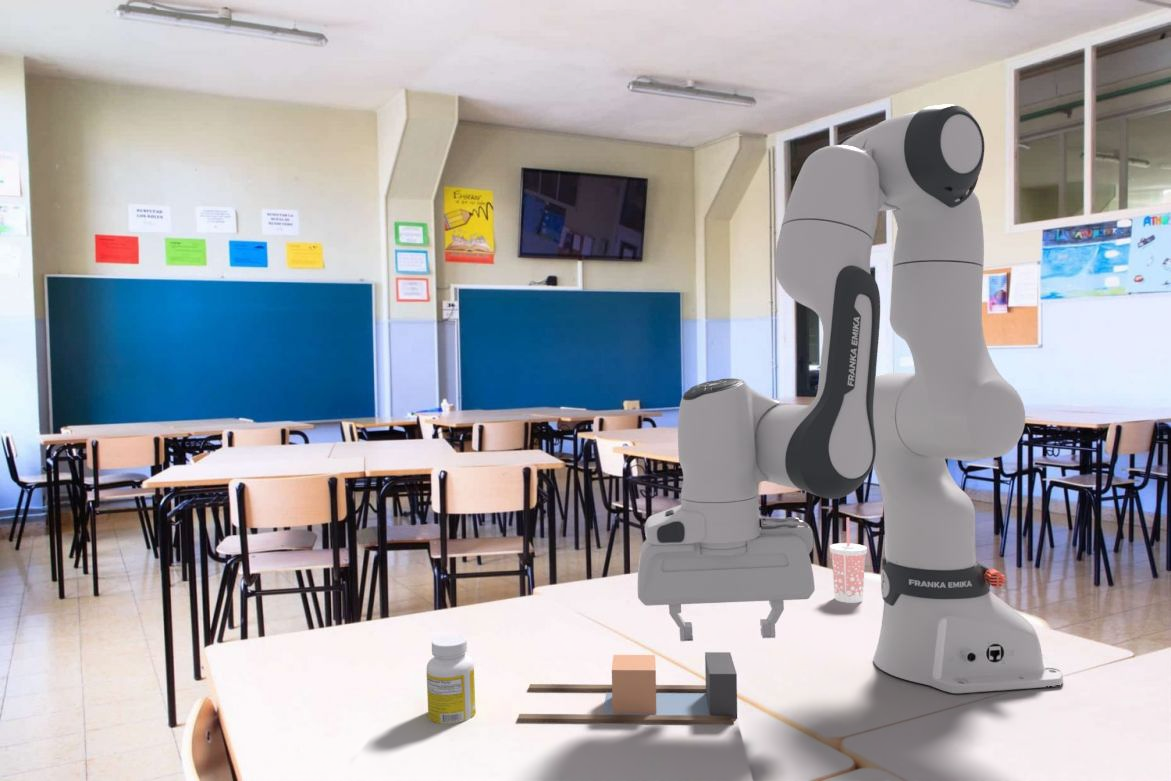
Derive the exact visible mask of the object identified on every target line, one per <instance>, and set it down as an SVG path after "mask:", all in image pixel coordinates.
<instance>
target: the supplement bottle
mask: <svg viewBox="0 0 1171 781" xmlns="http://www.w3.org/2000/svg"><path fill="white" fill-rule="evenodd" d="M467 640H468V639H467V638H466V637H465V636H463V635H460V634H448V635H442V636H438V637H436V638H434V639H432V640H431V654H432V656H433V657H432V658H431V659H430V660H428V662H427V664H426V689H427V690H426V691H427V715H428V717H427V718H428V719H429V720H430V722H433V723H434V724H435V723H436V724H440V725H455V724H459V723H464V722H467V721H468V720H471V719H473V717H475V715H476V690H475V689H476V688H475V687H476V686H475V684H476V683H475V666H474V665H475V664H474V660H473V659H472V657H471V656H469V654H466V653H467V652H468V650H467V649H468V642H467Z"/></svg>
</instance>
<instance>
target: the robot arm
mask: <svg viewBox="0 0 1171 781" xmlns="http://www.w3.org/2000/svg"><path fill="white" fill-rule="evenodd" d="M984 156H985V139H984V134H983V131H982V128H981V127H980V124H979V122H978V121H977V120H976V118H975V117H974V116H973V115H972V113H970V111H968V110H967V109H965V108H964V107H962V106H961V105H960V106H959V105H956V104H955V105H954V104H940V105H939V104H938V105H932V106H927V107H923V108H922V109H920V110H918V111H915V112H908V113H904V114H902V115H897V116H894V117H891V118H887V119H885V120H883V121H880V122H879V123H877V124H876V125H874V126H871V127H869V128H866V129H864V130H862V131H860V132H858V133H857V134H853V135H848V136H845V138H842V139H840V141H838V142H835V144H834V145H833V144H832V145H827V146H824V147H821V148H818V149H817V150H814V152H812V153H811V154H810V155H809V156H808V157H807V158H806V159H805V161H804V162H803V164H802V166H801V168H800V171H799V173H798V176H797V177H796V180H795V182H794V185H793V187H792V190H791V193H790V196H789V199H788V201H787V202H788V203H787V204H786V208H785V211H784V212H785V213H784V215H783V219H782V223H781V226H780V231H779V235H778V240H777V244H776V248H775V249H776V250H775V257H774V270H775V271H774V272H775V276H776V277H775V278H776V280H777V281H778V283H779V285H780V287H781V288H782V289H783V290H784V292H785V293H786V294H787V295H788V296H789V297H790V298H791V299H793V300H794V301H796V302H797V303H798V304H800V305H802V306H804V307H807V309H808V308H809V309H810V310H812V311H813V312H815V313H816V315H817V316H818V318H819V319H820V322H821V325H822V332H823V334H822V347H821V357H820V363H819V364H820V367H819V375H818V385H817V392H816V396H815V398H814V399H813V400H812V401H811V403H810V404H809V405H807V404H805V405H804V404H794V403H786V402H781V401H780V400H776V399H774V398H770V397H768V396H765V395H764V394H762V393H759V392H758V391H757V390H755V389H753V388H751V387H750V386H749V385H748V384H747V383H746V381H745V380H743V379H741V378H740V379H739V378H730V377H729V378H720V379H717V380H710V381H709V380H708V381H706V382H702V383H698V384H696V385H693V386H692V387H691V388H689V389H688V390H687V391H685V392H684V394H683V395H682V397H681V400H680V403H679V410H678V419H677V420H678V421H677V448H678V461H679V464H680V465H679V466H680V467H681V471H682V475H683V476H682V478H683V479H682V485H681V486H682V487H681V490H680V491H681V492H680V498H681V500H680V501H681V504H679V505H677V506H674V507H672V508H669V509H666V510H663V511H660V512H658V513H655V514H651V515H650V516H649V517H648V518H647V519H646V521H645V524H644V533H645V537H646V538H645V540H644V541H643V544H642V545H641V547H640V553H639V558H638V559H639V560H638V567H637V568H638V570H637V598H638V600H639V602H641V603H642V604H643V605H644V606H668V610H669V611H668V612H669V615H670V618H672V620H673V621H674V622H675V625H677V627H678V628H679V640H680V642H690V641H691V642H693V641H694V635H693V625H692V624H693V623H692V621H685V620H684V619H683V618H682V616H681V614H682V605H696V604H698V605H699V604H700V605H701V604H721V603H744V602H745V603H748V602H768V603H769V606H770V608H771V609H770V612H769V614H768V615H767V618H762V619H761V618H760V619H759V621H760V623H759V625H760V636H761V638H762V639H775V638H776V624H777V622H778V621H779V619H780V618H781V615H782V614H783V611H784V610H785V606H784V603H785V602H784V601H792V600H793V601H794V600H795V601H796V600H808V599H809V598H811V596H812V595H813V593H814V592H815V591H816V590H815V579H814V578H815V577H814V572H813V565H812V561H811V558H810V553H811V552H812V550H813V548H814V532H813V529H812V527H811V525H810V524H809V523H807V522H806V521H803V520H800V519H799V517H794V516H791V517H790V516H789V517H786V518H785V517H784V518H775V517H768V518H765V517H763V518H760V503H759V490H758V489H759V488H758V486H759V484H760V483H762V482H768V483H773V484H776V485H778V486H783V487H788V488H792V489H798V490H801V491H804V492H806V493H809V494H811V495H815V496H817V497H820V498H823V499H827V500H837V499H841V498H844V497H846V496H849V495H851V494H852V493H854V492H855V491H856V490H857V489H858V488H860V487H861V486H862V484H863V483H864V482H865V481H866V479H867V478H868V476H869V475H870V473H871V471H872V469H873V470H874V473H875V475H876V478H877V481H878V485H879V489H880V492H881V493H880V494H881V497H882V498H881V499H882V504H883V518H884V519H883V521H884V523H883V525H884V550H885V553H884V554H885V555H884V556H883V557H882V560H881V570H880V590H881V596H882V597H881V598H882V600H883V609H882V610H883V611H882V619H881V625H880V632H879V638H878V641H877V646H876V649H875V652H874V655H873V658H872V659H873V664H875V666H876V667H877V668H879V670H882V671H883V672H885V673H886V674H889V675H891V676H894V677H897V678H900V679H902V680H906V681H909V682H914V683H918V684H923V685H927V686H930V687H933V688H934V689H935V688H936V689H938V690H941V691H943V692H947V693H950V694H966V693H968V694H969V693H970V694H971V693H980V692H981V693H982V692H993V691H994V692H995V691H996V692H997V691H1009V690H1010V691H1011V690H1022V689H1024V690H1025V689H1037V688H1039V689H1040V688H1050V687H1049V686H1052V687H1056V686H1055V685H1060V684H1062V685H1063V683H1062V682H1064V678H1063V672H1062V670H1061V669H1060V667H1059V666H1058V665H1057V664H1056V663H1055V662H1054V661H1053V660H1052V659H1050V658H1049V657H1047V656H1045V655H1043V651H1042V646H1041V642H1040V639H1039V635H1038V633H1037V631H1036V629H1035V628H1034V626H1033V624H1032V623H1031V622H1030V621H1029V620H1028V619H1026V617H1024V615H1022V614H1020V613H1019V612H1018V611H1016V610H1015V609H1014V608H1013V607H1012V606H1010V605H1009V604H1008V603H1006V602H1005V600H1004V601H1003V599H1001V598H1000V597H998V596H997V595H996V594H994V593H993V592H991V586H992V587H993V588H995V589H999V588H1002V587H1003V586H1004V585H1005V584H1006V581H1007V579H1006V576H1005V575H1004V574H1003V573H1002V572H1000V571H998V569H996V568H988V567H987V566H984V565H982V564H981V563H979V562H978V561H976V510H975V506H974V503H973V501H972V499H971V498H970V497H969V495H968V494H967V493H966V492H965V491H964V490H962V489H961V487H959V486H958V484H957V483H956V481H955V480H954V478H953V476H952V475H951V472H950V469H949V468H948V464H947V462H946V460H955V461H956V460H957V461H963V462H969V461H978V460H979V461H980V460H981V461H982V460H986V459H994V458H1000V457H1003V456H1005V455H1006V454H1008V453H1009V452H1011V451H1012V450H1013V449H1014V448H1015V446H1017V444H1018V443H1019V441H1020V439H1021V437H1022V435H1023V433H1024V430H1025V425H1026V413H1025V412H1026V411H1025V406H1024V403H1023V401H1022V398H1021V396H1020V394H1019V393H1018V391H1017V390H1016V389H1015V388H1016V387H1015V388H1014V386H1013V385H1012V384H1010V383H1009V381H1007V380H1006V379H1005V377H1003V375H1001V373H1000V372H999V371H998V369H997V368H996V366H995V364H994V362H993V360H992V357H991V355H990V352H989V350H988V346H987V344H986V340H985V336H984V329H983V320H982V319H983V316H982V314H983V281H984V280H983V278H984V266H985V265H984V260H985V240H984V226H983V218H982V209H981V205H980V201H979V200H980V199H979V198H978V196H977V194H976V193H975V192H974V190H975V188H976V186H977V184H978V180H979V175H980V173H981V171H982V167H983V162H984ZM883 211H886V212H887V211H892V214H893V216H894V219H895V223H896V225H897V226H896V227H897V232H896V238H895V244H894V251H893V260H892V272H891V274H892V276H891V288H890V289H891V292H890V306H889V307H890V308H889V310H890V311H889V323H890V326H891V329H892V330H893V331H894V333H895V334H896V335H897V336H899V338H901V339H902V340H904V341H905V343H906V344H907V346H908V348H909V351H910V353H911V354H910V355H911V357H912V361H913V365H914V366H913V367H914V372H891V373H885V374H881V375H878V376H876V375H877V374H876V373H877V362H878V351H879V339H880V338H879V337H880V325H881V324H880V323H881V322H880V321H881V296H880V289H879V286H878V283H877V281H876V279H875V277H873V275H872V274H871V272H872V271H871V255H872V247H873V243H874V238H875V234H876V229H877V228H876V227H877V222H878V215H879V212H883ZM1046 686H1048V687H1046ZM1060 686H1061V685H1060Z"/></svg>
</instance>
